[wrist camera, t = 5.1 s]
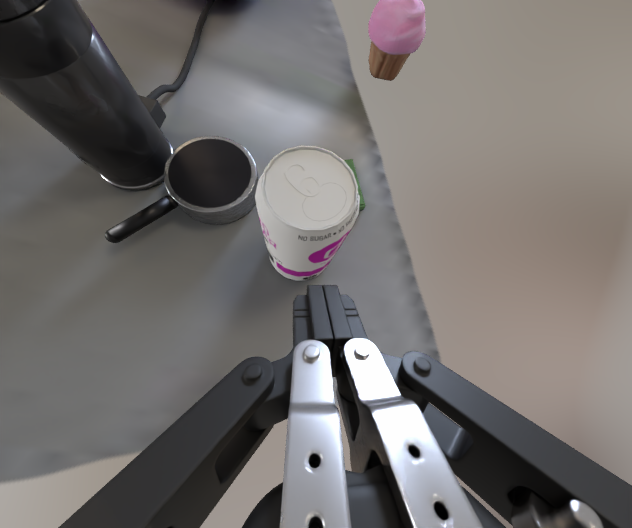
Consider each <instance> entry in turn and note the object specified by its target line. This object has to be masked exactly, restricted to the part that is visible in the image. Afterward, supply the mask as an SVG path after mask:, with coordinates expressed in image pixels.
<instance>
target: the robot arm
mask: <svg viewBox="0 0 632 528" xmlns="http://www.w3.org/2000/svg"><path fill="white" fill-rule="evenodd" d="M214 1H215V0H207V2H206V4H205V6H204V8H203V10H202V12H201V15H200V17H199V20H198V22H197V26H196V29H195V33H194V37H193V40H192V43H191V46H190V49H189V51H188V54H187V57H186V59H185V62H184V65H183V68H182V70H181V72H180V74H179V76H178V78H177V79H176V81H175V82H174V83H173V84H172V85H161V86H159V87H158V88H156V89H155V90H154V91H152V92H151V93H150V94H149V95H148V96H147V97H143V96H139V95H138V94H137V93H136V91H135V90H134V88H133V86H132V85H131V83H130V82H129V80H128V79H127V77H126V76H125V74H124V72H123V71H122V69H121V68H120V66H119V65H118V63H117V62H116V60H115V58H114V57H113V55H112V54H111V52H110V51H109V49H108V48H107V46H106V45H105V43H104V41H103V40H102V38H101V37H100V35H99V34H98V32H97V31H96V29H95V27H94V26H93V24H92V23H91V21H90V20H89V18H88V17H87V15H86V14H85V12H84V11H83V9H82V8H81V6H80V4H79V3H78V1H77V0H0V92H1V93H2V94H3V95H4V96H6V97H7V98H8V99H9V100H10V101H12V102H13V103H14V104H15V105H17V106H18V107H19V108H20V109H21V110H23V111H24V112H25V113H26V114H28V115H29V116H30V117H31V118H32V119H34V120H35V121H36V122H37V123H38V124H40V125H41V126H42V127H43V128H45V129H46V130H47V131H48V132H49V133H51V134H52V135H53V136H54V137H56V138H57V139H58V140H59V141H60V142H62V143H63V144H64V145H65V146H67V147H68V148H69V150H70V151H73V152H74V153H75V155H76V156H77V157H78V156H79V157H80V158H81V159H82V160H84V161H85V162H86V163H87V164H88V165H90V166H91V167H92V168H93V169H94V170H96V171H97V172H98V173H99V174H100V175H101V176H102V177H103V178H104V179H105V180H107V181H108V182H109V183H110V184H112V185H114V186H116V187H118V188H121V189H125V190H143V189H147V188H150V187H153V186H155V185H157V184H159V183H160V182H162V181H163V180H164V168H165V164H166V162H167V160H168V158H169V156H170V155H171V154H172V152H173V151H174V150H173V148H172V146H171V144H170V143H169V141H168V140H167V139H166V138H165V137H164V135H163V133H162V132H161V130H160V127H161V125H162V123H163V121H164V119H165V118H166V115H165V113H164V111H163V110H162V108H161V106H160V104H159V103H158V101H157V100H156V99H157V98H158V97H159V96H161V95H162V94H164V93H165V92H175V91H176V90H178V89H179V88H180V86H181V85H182V84H183V82H184V80H185V79H186V76H187V74H188V72H189V69H190V66H191V63H192V60H193V57H194V55H195V52H196V49H197V46H198V43H199V39H200V35H201V31H202V28H203V25H204V22H205V20H206V17H207V15H208V13H209V10H210V8H211V6H212V4H213V2H214ZM79 157H78V158H79ZM80 158H79V159H80ZM84 161H83V162H84ZM85 162H84V163H85ZM86 163H85V164H86ZM332 377H336V380H337V391H336V395H337V399H338V403H339V407H340V411H341V415H342V419H343V423H344V426H345V430H346V434H347V438H348V442H349V447H350V461H351V468H352V471H347V470H345V463H344V454H343V445H342V436H341V428H340V427H341V426H340V417H339V411H338V408H337V407H336V406H335V400H334V389H333V379H332ZM429 402H430V403H431V404H432V405H431V404H430V403H429ZM433 405H434V406H435V407H436V408H435V407H434V406H433ZM437 408H438V409H439V410H440V411H441V412H440V411H439V410H438V409H437ZM442 412H443V413H444V414H445V415H447V416H448V417H449V418H448V417H447V416H445V415H444V414H443V413H442ZM287 418H288V425H287V439H286V451H285V465H284V478H283V483H281V484H279V485H278V486H276V487H275V488H273V489H272V490H271V491H270V492H269V493H268V494H266V495H265V497H263V499H262V500H261V501H260V502H259V503H258V504H257V506H256V507H255V508H254V509H253V511H252V512H251V514H250V515H249V517H248V518H247V520H246V521H245V523H244V525H243V527H242V528H506V527H505V526H504V525H503V524H502V523H501V522H499V520H498V519H496V518H495V517H494V516H493V515H492V514H491V513H490V512H489V511H488V510H487V509H486V508H485V507H484V506H483V505H482V504H481V503H479V501H477V500H476V499H475V498H474V497H473V496H472V495H471V494H470V493H469V492H468V491H467V490H466V489H465V488H463V487H462V486H461V485H460V483H459V482H458V480H457V478H456V476H457V477H459V478H460V479H461V480H462V481H463V482H464V483H465V484H466V485H467V486H469V487H470V488H471V489H472V490H473V491H474V492H475V493H476V494H478V495H479V496H480V497H481V498H482V499H483V500H484V501H486V503H488V504H489V505H490V506H491V507H492V508H493V509H494V510H495V511H497V512H498V513H499V514H500V515H501V516H502V517H503V518H504V519H506V520H507V521H508V522H509V523H510V524H511V525H512V526H513V528H632V486H631V485H630V484H628V483H627V482H625V481H623V480H622V479H620V478H619V477H617V476H616V475H614V474H613V473H611V472H609V471H608V470H606V469H605V468H603V467H602V466H600V465H599V464H597V463H595V462H594V461H592V460H591V459H589V458H588V457H586V456H584V455H583V454H581V453H580V452H578V451H577V450H575V449H574V448H572V447H570V446H569V445H567V444H566V443H564V442H563V441H561V440H559V439H558V438H556V437H555V436H553V435H552V434H550V433H549V432H547V431H545V430H544V429H542V428H541V427H539V426H538V425H536V424H535V423H533V422H532V421H530V420H528V419H527V418H525V417H524V416H522V415H521V414H519V413H517V412H516V411H514V410H513V409H511V408H510V407H508V406H507V405H505V404H503V403H502V402H500V401H499V400H497V399H496V398H494V397H492V396H491V395H489V394H488V393H486V392H485V391H483V390H482V389H480V388H478V387H477V386H475V385H474V384H472V383H471V382H469V381H468V380H466V379H464V378H463V377H461V376H460V375H458V374H457V373H455V372H453V371H452V370H450V369H449V368H447V367H445V366H444V365H443V364H441V363H439V362H438V361H436V360H435V359H433V358H432V357H430V356H428V355H427V354H424V353H422V352H418V351H410V352H407V353H406V354H405V355H404V356H403V358H399V357H395V356H391V355H387V354H384V353H382V352H380V351H379V350H378V348H377V347H376V346H375V345H374V344H373V343H372V342H370V341H369V340H368V338H367V335H366V333H365V330H364V327H363V325H362V322H361V320H360V317H359V314H358V312H357V310H356V307H355V304H354V301H353V300H352V299H351V298H350V297H349V296H348V295H340V293H339V290H338V287H337V285H307V295H297V297H296V298H295V300H294V302H293V349H292V351H291V352H290V353H289V354H288V355H287V356H286V357H284V358H282V359H280V360H277V361H274V362H270V361H269V360H267V359H265V358H263V357H251V358H248V359H246V360H244V361H242V362H241V363H240V364H238V365H237V366H236V367H235V368H234V369H233V370H232V371H231V372H230V373H229V374H227V375H226V376H225V377H224V378H223V379H222V380H221V381H220V382H219V383H218V384H216V385H215V386H214V387H213V388H212V389H211V390H210V391H209V392H208V393H206V394H205V395H204V396H203V397H202V398H201V399H200V400H199V401H198V402H197V403H195V404H194V405H193V406H192V407H191V408H190V409H189V410H188V411H187V412H186V413H184V414H183V415H182V416H181V417H180V418H179V419H178V420H177V421H176V422H174V423H173V424H172V425H171V426H170V427H169V428H168V429H167V430H166V431H165V432H163V433H162V434H161V435H160V436H159V437H158V438H157V439H156V440H155V441H154V442H152V443H151V444H150V445H149V446H148V447H147V448H146V449H145V450H144V451H142V452H141V453H140V454H139V455H138V456H137V457H136V458H135V459H134V460H133V461H131V462H130V463H129V464H128V465H127V466H126V467H125V468H124V469H123V470H121V472H119V473H118V474H117V475H116V476H115V477H114V478H113V479H112V480H110V481H109V482H108V483H107V484H106V485H105V486H104V487H103V488H102V489H101V490H99V491H98V492H97V493H96V494H95V495H94V496H93V497H92V498H91V499H90V500H88V501H87V502H86V503H85V504H84V505H83V506H82V507H81V508H80V509H78V510H77V511H76V512H75V513H74V514H73V515H72V516H71V517H70V518H69V519H68V520H66V521H65V522H64V523H63V524H62V525H61V526H60V527H59V528H200V526H201V525H202V523H203V522H204V521H205V519H206V518H207V517H208V515H209V513H210V512H211V511H212V510H213V508H214V507H215V506H216V504H217V503H218V502H219V500H220V499H221V498H222V496H223V495H224V493H225V492H226V491H227V489H228V488H229V487H230V485H231V484H232V483H233V481H234V480H235V478H236V477H237V476H238V474H239V473H240V472H241V470H242V469H243V468H244V466H245V465H246V463H247V462H248V461H249V459H250V458H251V457H252V455H253V454H254V453H255V451H256V450H257V448H258V447H259V446H260V444H261V443H262V442H263V440H264V439H265V437H266V436H267V435H268V433H269V432H270V431H271V429H272V428H273V426H274V424H276V423H279V422H281V421H283V420H285V419H287ZM450 418H451V419H452V420H453V421H455V422H456V423H457V424H459V425H460V426H461V427H460V426H459V425H457V424H456V423H454V422H453V421H452V420H451V419H450ZM455 475H456V476H455Z"/></svg>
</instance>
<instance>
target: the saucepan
mask: <svg viewBox="0 0 632 528" xmlns="http://www.w3.org/2000/svg"><path fill="white" fill-rule="evenodd" d="M164 183H165V186H166V188H167V190H168V192H169V194H170V195H168V196H165V197H164V198H162V199H160V200H158V201H157V202H155V203H153V204H152V205H150V206H148V207H147V208H145V209H143V210H141V211H140V212H138V213H136V214H135V215H133V216H131V217H130V218H128V219H126V220H124V221H123V222H121V223H119V224H118V225H116V226H114V227H113V228H111V229H109V230H108V231H106V233H105V238H106V239H107V240H108V241H109V242H112V243H118V242H121V241H122V240H124V239H125V238H127V237H129V236H130V235H132V234H134V233H135V232H137V231H139V230H140V229H142V228H143V227H145V226H147V225H148V224H150V223H152V222H153V221H155V220H157V219H158V218H160V217H162V216H163V215H165V214H166V213H168V212H170V211H171V210H173V209H175V208H176V207H177V206H178V204H179V206H180V207H181V208H182V209H183V210H184V211H185V212H186V213H187V214H188V215H189V216H191V217H192V218H194V219H195V220H198V221H200V222H203V223H207V224H216V225H218V224H227V223H231V222H234V221H236V220H238V219H240V218H242V217H244V216H245V215H246V214H247V213H249V212H250V211H251V209H252V208H253V207H254V205H255V204H256V201H255V194H256V189H257V184H258V175H257V170H256V165H255V162H254V160H253V158H252V156H251V155H250V153H249V152H248V151H247V150H246V149H245V148H244V147H243V146H241V145H240V144H238V143H237V142H235V141H233V140H230V139H227V138H224V137H218V136H205V137H199V138H195V139H192V140H189V141H187V142H185V143H184V144H182V145H180V146H179V147H178V148H177V149H175V150H174V151H173V152H172V154H171V155H170V156H169V158H168V160H167V162H166V164H165V168H164Z"/></svg>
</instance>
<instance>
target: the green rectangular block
mask: <svg viewBox="0 0 632 528" xmlns="http://www.w3.org/2000/svg"><path fill="white" fill-rule="evenodd" d="M344 161H345V162H346V163H347V165H348V166H349V167H350V169H351V170H352V171H353V173H354V176H355V179H356V182H357V185H358V193H359V196H360V204H359V210H363V209H364V208H365V203H364V199H363V196H362V192H361V189H360V185H359V181H358V178H357V174H356V171H355V167H354V163H353V160H352V159H350V160H344Z"/></svg>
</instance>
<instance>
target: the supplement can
mask: <svg viewBox="0 0 632 528" xmlns="http://www.w3.org/2000/svg"><path fill="white" fill-rule="evenodd" d="M255 201H256V206H257V210H258V215H259V219H260V223H261V227H262V231H263V234H264V238H265V242H266V246H267V250H268V254H269V258H270V261H271V263H272V264H273V266H274V268H275V269H276V271H278V272H279V273H280V274H282V275H283V276H284V277H286V278H289V279H293V280H296V281H300V280H309V279H312V278H314V277H316V276H318V275H319V274H320V273H322V272H323V271H324V270H325V269H326V267H327V266H328V264H329V263H330V261H331V260H332V258H333V257H334V255H335V253H336V252H337V250H338V249H339V247H340V246H341V244H342V242H343V241H344V239H345V238H346V236H347V235H348V233H349V232H350V230H351V228H352V227H353V224H354V222H355V220H356V218H357V216H358V214H359V204H360V196H359V193H358V185H357V182H356V179H355V176H354V173H353V171H352V170H351V169H350V167H349V166H348V165H347V163H346V162H345V161H344V160H343V159H342V158H340V157H339V156H337V155H336V154H334V153H333V152H332V151H329V150H326V149H323V148H320V147H317V146H297V147H293V148H289V149H286V150H284V151H282V152H281V153H279V154H278V155H276V156H275V157H274V158H272V159H271V161H270V162H269V164H268V165H267V167H266V168H265V170H264V173H263V174H262V176H261V177H260V179H259V180H258V184H257V189H256V194H255Z"/></svg>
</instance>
